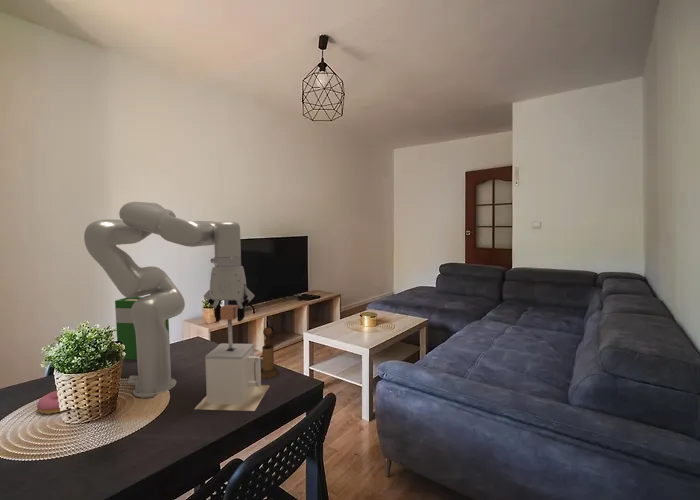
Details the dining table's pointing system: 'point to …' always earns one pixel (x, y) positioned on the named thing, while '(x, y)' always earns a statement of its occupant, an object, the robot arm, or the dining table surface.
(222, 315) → the brown square-faced block
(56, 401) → the doughnut
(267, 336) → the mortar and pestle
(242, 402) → the press pot
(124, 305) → the hardback book
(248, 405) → the birch board
